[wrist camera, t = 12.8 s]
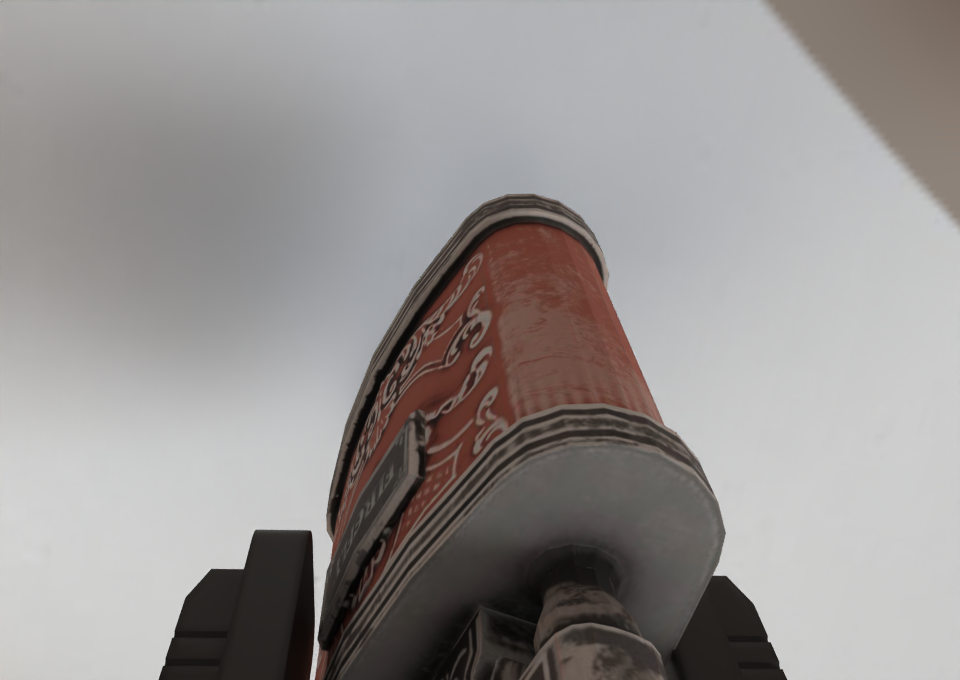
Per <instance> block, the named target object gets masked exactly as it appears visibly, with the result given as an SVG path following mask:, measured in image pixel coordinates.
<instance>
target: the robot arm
mask: <svg viewBox="0 0 960 680" xmlns="http://www.w3.org/2000/svg"><path fill="white" fill-rule="evenodd" d="M314 627H315V609H314V574H313V541H312V532H311V531H308V530H255V532H254V534H253V537H252V540H251V544H250V548H249V552H248V556H247V560H246V564H245V568H244V569H211V570H210V571H209V572H208V573H207V574H206V576H205V577H204V578H203V579H202V580H201V581H200V582H199V583H198V584H197V586H196V587H195V588H194V589H193V590H192V591H191V592H190V593H189V594H188V596H187V597H186V598H185V601H184V604H183V607H182V610H181V613H180V616H179V619H178V622H177V625H176V628H175V635H174V638H172V641H171V644H170V647H169V650H168V653H167V656H166V662H165V666H163V668H162V671H161V674H160V677H159V680H310V673H311V666H312V657H313V646H314ZM665 672H666V675H667V678H668V680H787V678H786V676H785V674H784V672H783V669H780V667H779V660H778V658H777V656H776V654H775V651H774V649H773V647H772V645H771V642H768V636H767V633H766V631H765V629H764V626H763V624H762V622H761V620H760V617H759V615H758V613H757V611H756V608H755V606H754V604H753V603H752V602H751V601H750V600H749V599H748V598H747V597H746V596H745V595H744V594H743V593H742V592H741V591H740V590H739V589H738V588H737V587H736V586H735V585H734V584H733V583H732V581H731V580H730V579H729V578H728V577H727V576H712V577H711V579H710V581H709V583H708V585H707V587H706V589H705V591H704V593H703V595H702V597H701V599H700V601H699V603H698V605H697V607H696V609H695V611H694V613H693V615H692V617H691V619H690V621H689V623H688V625H687V627H686V629H685V631H684V633H683V635H682V637H681V639H680V641H679V643H678V645H677V647H676V649H675V650H672V655H671V659H670V661H669V663H668V665H667V666H666V668H665Z"/></svg>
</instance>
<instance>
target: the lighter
mask: <svg viewBox="0 0 960 680" xmlns="http://www.w3.org/2000/svg"><path fill="white" fill-rule="evenodd" d="M608 278H609V273H608V270H607V266H606V263H605V259H604V256H603V253H602V250H601V248H600V246H599V244H598V242H597V240H596V237H595V235H594V233H593V232H592V231H591V229H590V228H589V227H588V225H587V224H586V223H585V222H584V220H583V219H582V218H581V216H580V215H579V214H577V213H576V212H574V211H573V210H571V209H570V208H568V207H567V206H565V205H564V204H562V203H561V202H559V201H557V200H553V199H550V198H546V197H543V196H539V195H536V194H507V195H504V196H501V197H499V198H496V199H493V200H490V201H487V202H485V203H483V204H482V205H481V206H480V207H478V208H477V209H476V210H475V211H474V212H472V213H471V214H470V215H469V216H468V217H467V218H466V219H465V220H464V222H463V223H462V224H461V225H460V227H459V228H458V229H457V231H456V232H455V233H454V234H453V236H452V237H451V238H450V240H449V241H448V242H447V243H446V245H445V246H444V247H443V249H442V250H441V251H440V252H439V254H438V255H437V256H436V258H435V259H434V260H433V262H432V263H431V264H430V265H429V267H428V268H427V269H426V271H425V272H424V273H423V274H422V276H421V277H420V278H419V280H418V281H417V282H416V283H415V285H414V287H413V288H412V290H411V292H410V293H409V295H408V297H407V298H406V300H405V302H404V303H403V305H402V307H401V309H400V310H399V312H398V314H397V315H396V317H395V319H394V320H393V322H392V324H391V325H390V327H389V329H388V330H387V332H386V334H385V336H384V337H383V339H382V341H381V342H380V344H379V346H378V347H377V349H376V351H375V352H374V354H373V357H372V359H371V362H370V364H369V367H368V369H367V372H366V374H365V377H364V379H363V382H362V384H361V387H360V389H359V392H358V394H357V397H356V399H355V402H354V404H353V407H352V409H351V412H350V415H349V417H348V420H347V422H346V425H345V429H344V434H343V438H342V442H341V446H340V450H339V454H338V459H337V463H336V467H335V471H334V475H333V479H332V483H331V488H330V495H329V501H328V508H327V515H326V516H327V532H328V534H329V536H330V538H331V539H332V541H333V549H332V557H331V563H330V565H329V567H328V570H327V575H326V582H325V589H324V597H323V604H322V611H321V618H320V626H319V633H318V642H319V645H320V646H319V654H318V661H317V669H316V676H315V680H668V678H667V675H666V672H665V668H666V666H667V665H668V663H669V661H670V659H671V655H672V650H675V649H676V647H677V645H678V643H679V641H680V639H681V637H682V635H683V633H684V631H685V629H686V627H687V625H688V623H689V621H690V619H691V617H692V615H693V613H694V611H695V609H696V607H697V605H698V603H699V601H700V599H701V597H702V595H703V593H704V591H705V589H706V587H707V585H708V583H709V581H710V579H711V577H712V575H713V573H714V571H715V569H716V567H717V565H718V563H719V560H720V555H721V551H722V547H723V542H724V538H725V534H726V532H725V529H724V525H723V521H722V517H721V513H720V509H719V505H718V502H717V499H716V497H715V495H714V493H713V491H712V489H711V486H710V484H709V482H708V480H707V478H706V476H705V473H704V471H703V469H702V467H701V465H700V463H699V460H698V459H697V458H696V456H695V455H694V454H693V453H692V451H691V450H690V449H689V448H688V446H687V445H686V444H685V443H684V441H683V440H682V439H681V438H680V436H679V435H678V434H677V433H676V432H674V431H673V430H671V429H669V428H668V427H666V426H665V425H664V423H663V421H662V418H661V416H660V414H659V411H658V409H657V407H656V404H655V402H654V400H653V397H652V395H651V393H650V390H649V388H648V386H647V383H646V381H645V379H644V377H643V374H642V372H641V370H640V367H639V365H638V363H637V360H636V358H635V356H634V353H633V351H632V349H631V346H630V344H629V342H628V339H627V337H626V335H625V332H624V330H623V328H622V325H621V323H620V321H619V318H618V316H617V314H616V311H615V309H614V307H613V304H612V302H611V300H610V297H609V295H608V293H607V286H608Z"/></svg>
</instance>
